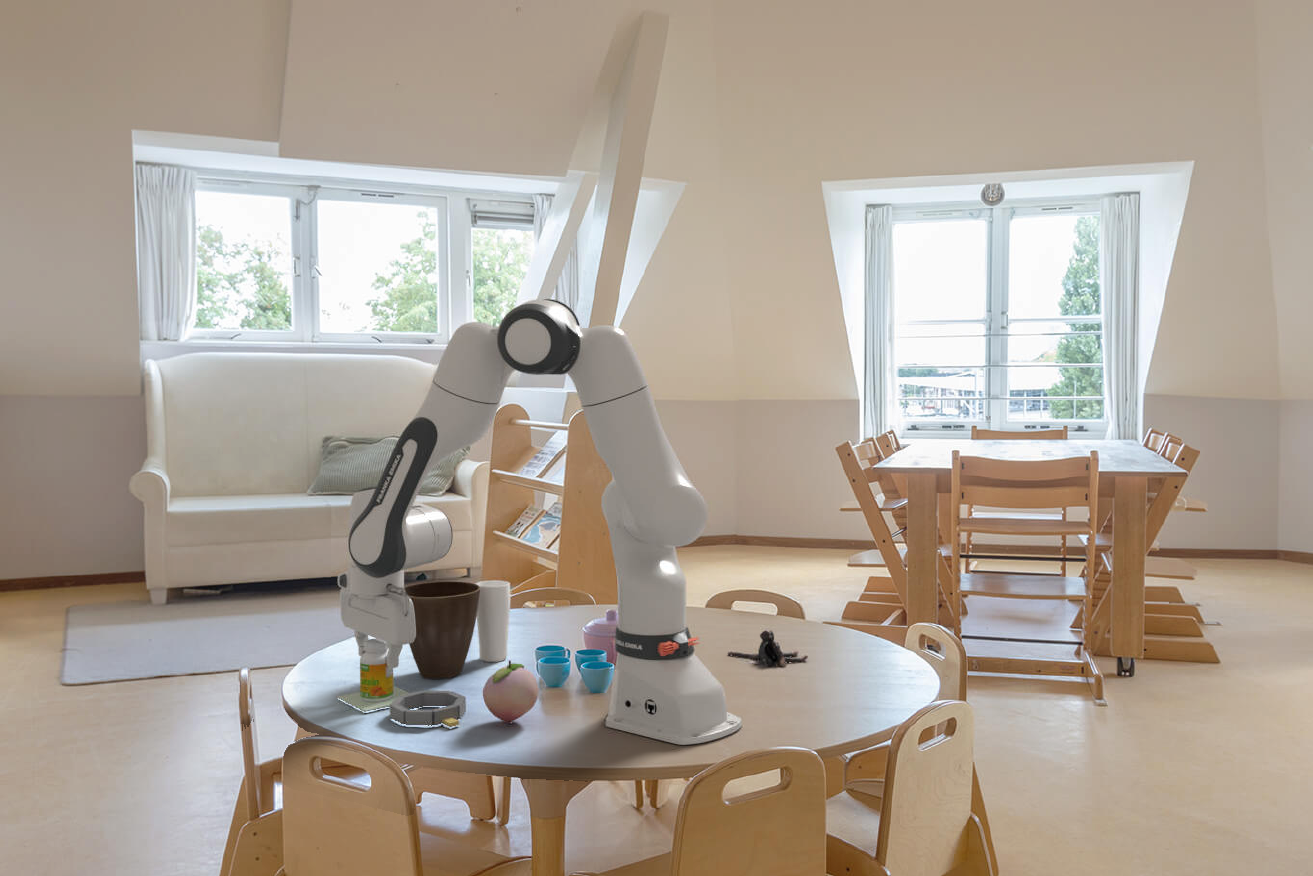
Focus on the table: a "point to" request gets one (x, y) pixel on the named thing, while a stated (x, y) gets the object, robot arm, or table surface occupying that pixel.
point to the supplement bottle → (375, 672)
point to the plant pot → (443, 626)
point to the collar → (429, 717)
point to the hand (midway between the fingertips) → (378, 661)
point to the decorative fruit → (510, 692)
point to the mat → (367, 706)
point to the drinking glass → (493, 620)
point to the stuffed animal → (770, 653)
